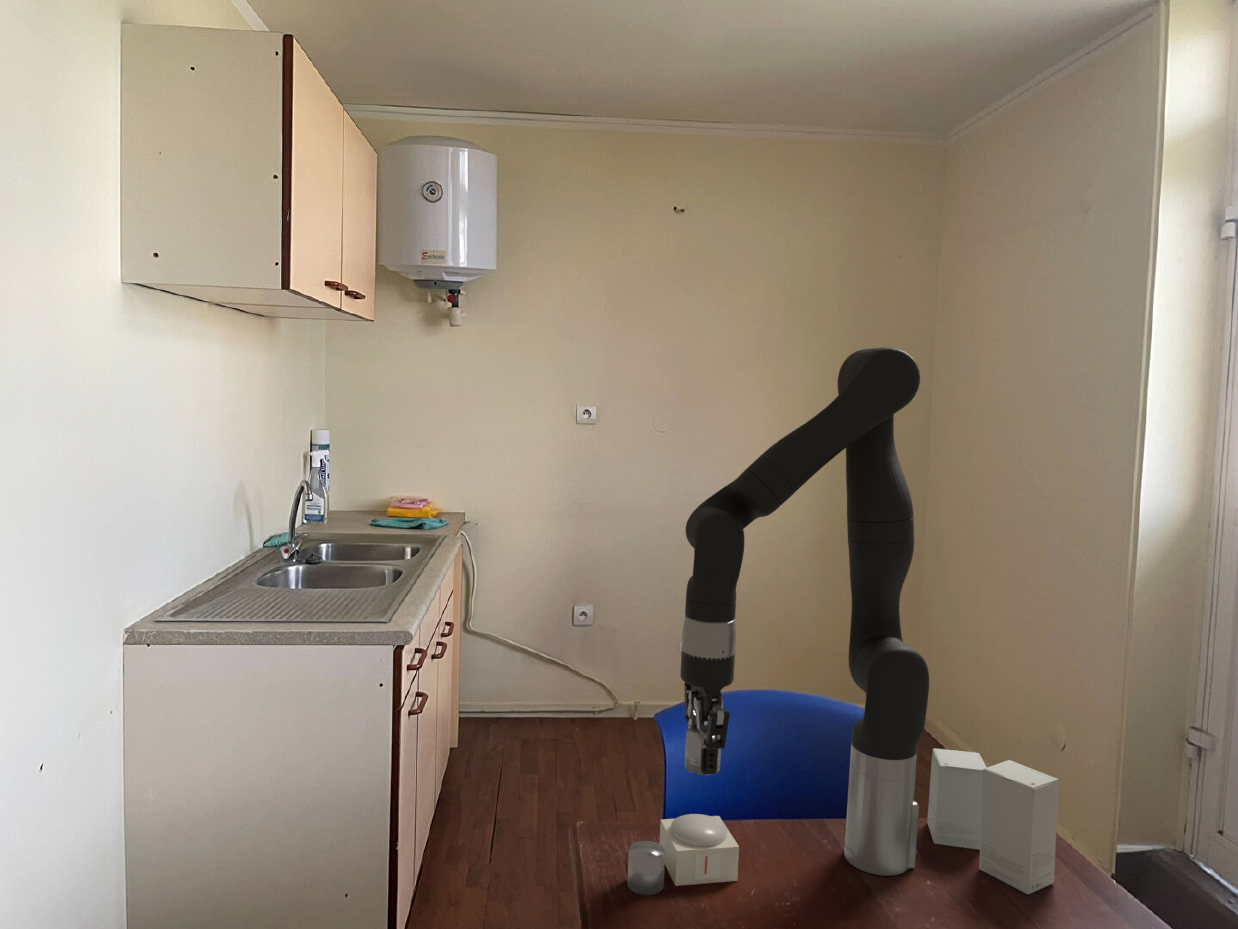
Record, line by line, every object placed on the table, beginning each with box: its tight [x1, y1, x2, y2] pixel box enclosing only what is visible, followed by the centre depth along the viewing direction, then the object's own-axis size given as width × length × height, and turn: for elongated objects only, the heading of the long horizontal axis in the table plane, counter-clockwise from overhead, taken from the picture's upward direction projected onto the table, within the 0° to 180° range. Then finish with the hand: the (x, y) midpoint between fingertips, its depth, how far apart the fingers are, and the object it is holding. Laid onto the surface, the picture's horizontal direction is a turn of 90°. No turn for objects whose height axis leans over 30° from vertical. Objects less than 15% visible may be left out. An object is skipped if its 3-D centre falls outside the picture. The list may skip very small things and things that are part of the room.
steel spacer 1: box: [627, 840, 666, 896], centre depth 123 cm, size 5×5×5 cm
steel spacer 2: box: [684, 727, 722, 776], centre depth 127 cm, size 5×5×5 cm
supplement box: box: [926, 748, 987, 851], centre depth 140 cm, size 7×7×13 cm
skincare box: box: [978, 759, 1060, 895], centre depth 128 cm, size 8×7×16 cm
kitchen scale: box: [659, 813, 740, 887], centre depth 128 cm, size 9×9×6 cm
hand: (702, 764), depth 127 cm, fingers closed on steel spacer 2, 5 cm apart
